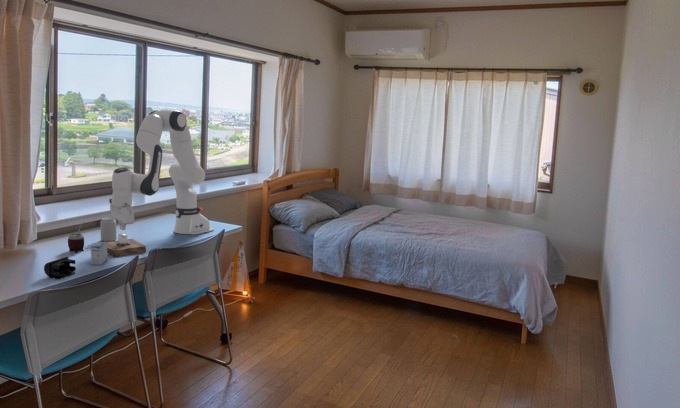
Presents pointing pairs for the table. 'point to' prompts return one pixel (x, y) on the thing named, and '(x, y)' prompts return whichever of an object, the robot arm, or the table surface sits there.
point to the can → (108, 229)
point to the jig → (125, 248)
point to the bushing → (122, 239)
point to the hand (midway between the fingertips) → (122, 229)
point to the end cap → (60, 268)
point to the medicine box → (98, 253)
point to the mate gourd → (76, 241)
